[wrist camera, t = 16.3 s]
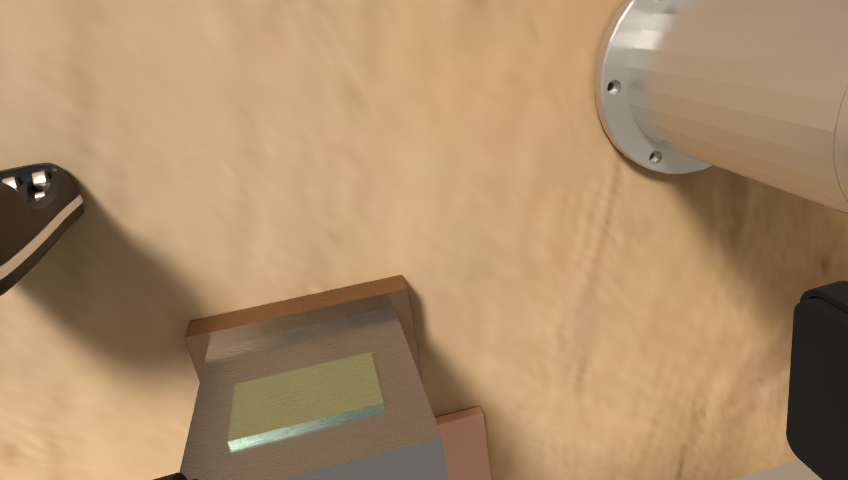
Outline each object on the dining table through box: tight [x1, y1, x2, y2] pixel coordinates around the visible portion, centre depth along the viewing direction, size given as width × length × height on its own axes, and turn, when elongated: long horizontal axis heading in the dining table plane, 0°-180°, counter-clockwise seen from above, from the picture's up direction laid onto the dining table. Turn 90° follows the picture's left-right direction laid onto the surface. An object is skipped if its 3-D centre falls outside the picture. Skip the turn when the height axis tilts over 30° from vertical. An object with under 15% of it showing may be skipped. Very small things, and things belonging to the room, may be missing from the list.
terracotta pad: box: [435, 406, 491, 480], centre depth 43 cm, size 8×8×1 cm
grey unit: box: [180, 275, 448, 480], centre depth 31 cm, size 13×7×14 cm, turn 98°
